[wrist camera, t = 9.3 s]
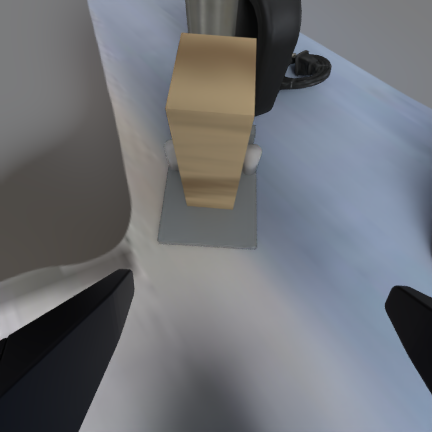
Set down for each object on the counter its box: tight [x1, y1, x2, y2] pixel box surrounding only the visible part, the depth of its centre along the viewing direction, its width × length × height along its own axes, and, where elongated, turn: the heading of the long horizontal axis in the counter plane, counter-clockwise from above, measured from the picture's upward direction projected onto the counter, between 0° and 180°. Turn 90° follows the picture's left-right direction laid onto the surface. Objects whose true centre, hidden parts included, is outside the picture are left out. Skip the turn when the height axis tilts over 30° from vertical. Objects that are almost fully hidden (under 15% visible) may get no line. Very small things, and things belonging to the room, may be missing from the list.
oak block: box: [165, 33, 256, 210], centre depth 18 cm, size 6×4×12 cm
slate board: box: [158, 125, 262, 249], centre depth 23 cm, size 12×9×4 cm
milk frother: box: [185, 0, 332, 117], centre depth 24 cm, size 14×16×15 cm
